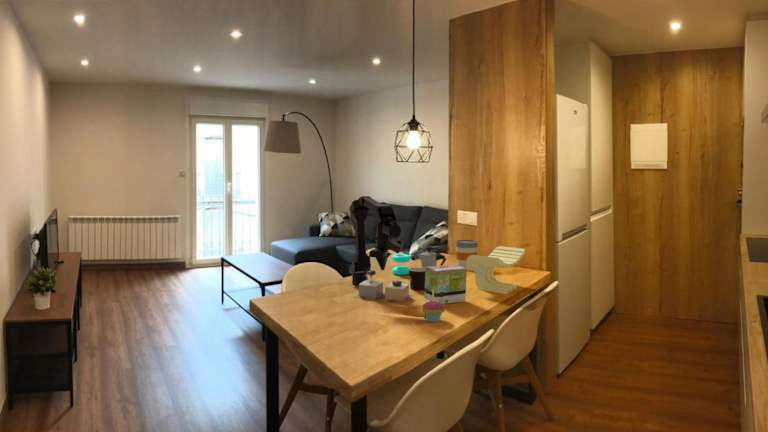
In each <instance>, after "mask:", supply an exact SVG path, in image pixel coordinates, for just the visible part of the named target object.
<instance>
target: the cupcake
mask: <svg viewBox="0 0 768 432" xmlns="http://www.w3.org/2000/svg"><path fill="white" fill-rule="evenodd" d="M421 309H422V310H421V311H422V312H423V313H424V315H425V318H426V321H427V322H432V323H434V322H435V323H436V322H439V321H440V318H441V316H442V313H444V312H445V310H446V309H445V304H442V303H440V302H437V301H434V290H432V301H430V300H427V301H426V302H425V303H423V304H422V308H421Z"/></svg>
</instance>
